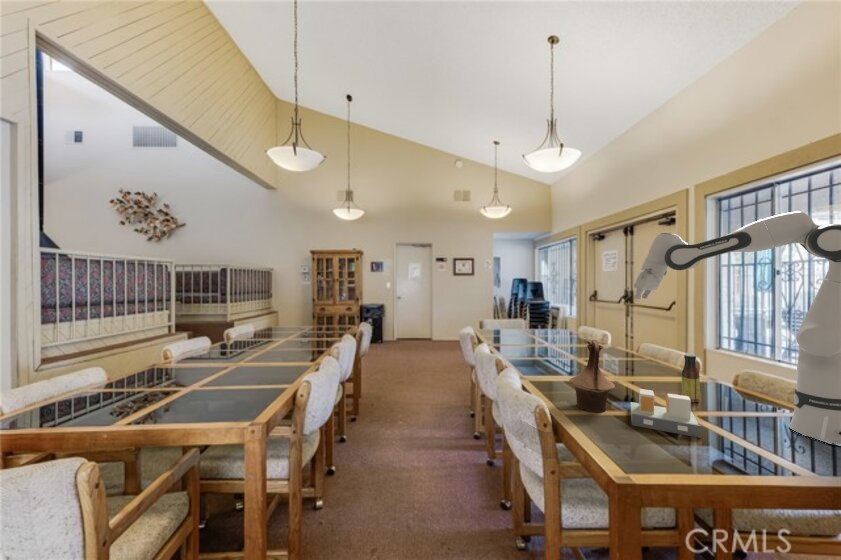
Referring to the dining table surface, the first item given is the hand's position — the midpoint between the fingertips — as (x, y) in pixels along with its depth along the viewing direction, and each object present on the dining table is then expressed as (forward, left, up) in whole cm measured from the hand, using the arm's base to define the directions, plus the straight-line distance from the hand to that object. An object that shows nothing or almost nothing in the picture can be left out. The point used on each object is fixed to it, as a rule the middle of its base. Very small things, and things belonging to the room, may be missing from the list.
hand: (640, 298), depth 158 cm
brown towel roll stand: (+18, +25, -44) cm, 54 cm away
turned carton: (-11, +26, -41) cm, 50 cm away
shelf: (-6, +27, -44) cm, 52 cm away
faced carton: (-1, +26, -41) cm, 49 cm away
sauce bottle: (-19, -5, -44) cm, 48 cm away
